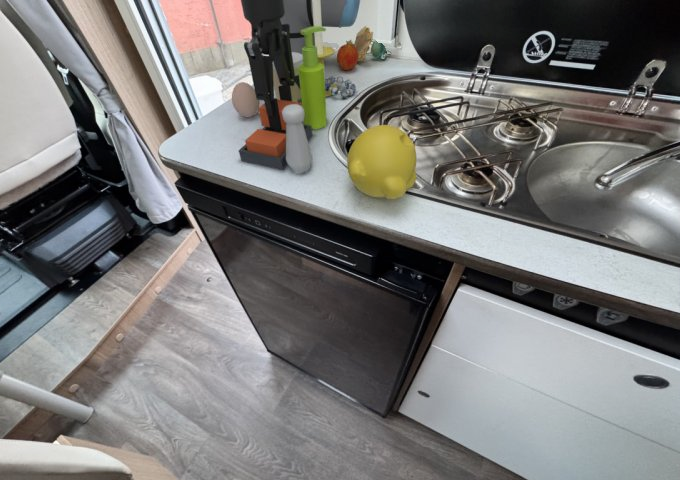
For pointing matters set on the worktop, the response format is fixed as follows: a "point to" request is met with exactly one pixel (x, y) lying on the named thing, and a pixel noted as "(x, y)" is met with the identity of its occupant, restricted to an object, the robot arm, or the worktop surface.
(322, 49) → the yellow disc white stick
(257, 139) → the seated pad
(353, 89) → the bracelet
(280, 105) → the loose pad
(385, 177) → the sculpture
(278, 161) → the pad frame
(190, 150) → the worktop surface
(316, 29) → the soap dispenser
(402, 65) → the worktop surface
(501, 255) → the worktop surface
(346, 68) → the fruit
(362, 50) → the cartoon bug character
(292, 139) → the salt shaker
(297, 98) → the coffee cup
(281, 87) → the robot arm
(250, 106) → the egg
